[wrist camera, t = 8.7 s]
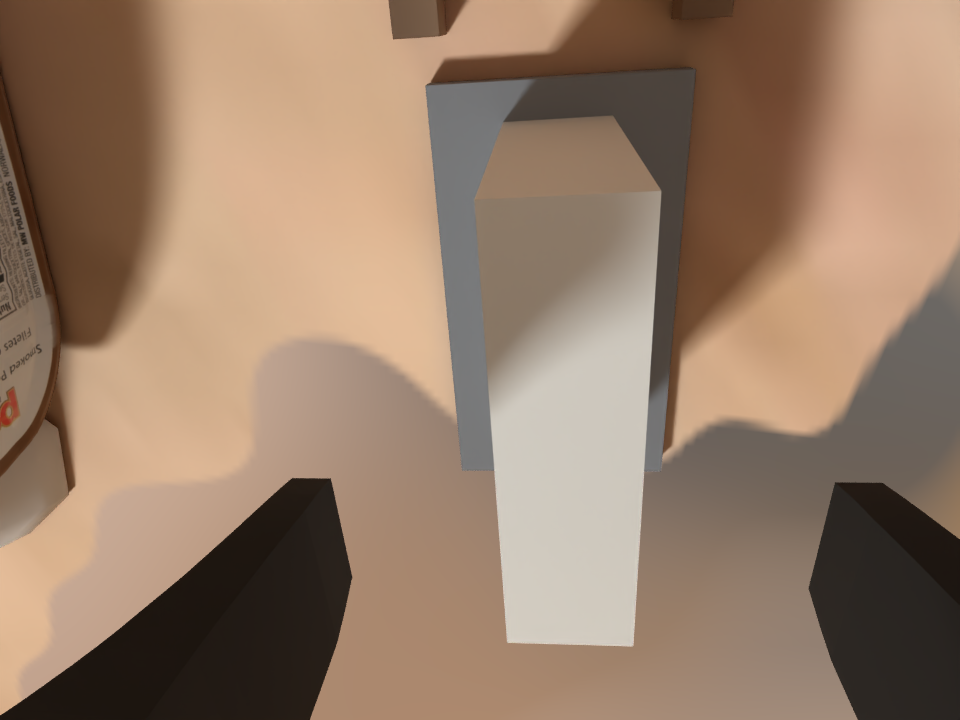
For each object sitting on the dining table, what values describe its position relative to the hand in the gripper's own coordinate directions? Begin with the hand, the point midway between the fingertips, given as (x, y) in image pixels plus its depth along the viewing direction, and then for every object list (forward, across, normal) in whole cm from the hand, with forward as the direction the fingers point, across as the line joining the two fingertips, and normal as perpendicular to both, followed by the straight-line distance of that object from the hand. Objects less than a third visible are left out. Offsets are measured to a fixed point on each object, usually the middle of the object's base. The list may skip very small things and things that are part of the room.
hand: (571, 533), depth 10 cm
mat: (+9, 0, 0) cm, 9 cm away
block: (+8, 0, 0) cm, 9 cm away
